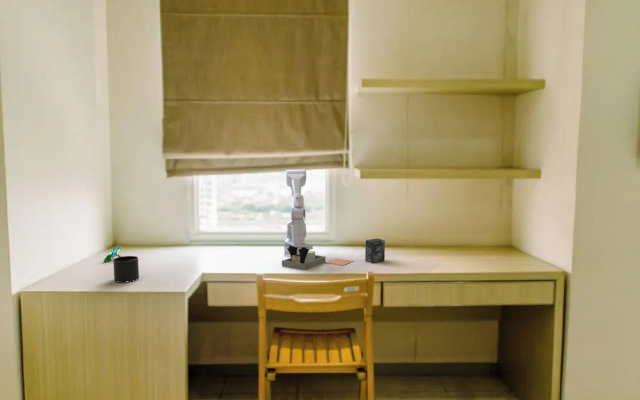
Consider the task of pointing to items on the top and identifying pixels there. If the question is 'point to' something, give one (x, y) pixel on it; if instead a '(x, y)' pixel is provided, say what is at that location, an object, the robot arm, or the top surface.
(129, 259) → the mug
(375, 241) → the box
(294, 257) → the label block
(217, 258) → the top surface
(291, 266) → the tray
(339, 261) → the mat
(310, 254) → the plain block
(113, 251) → the stick construction toy
